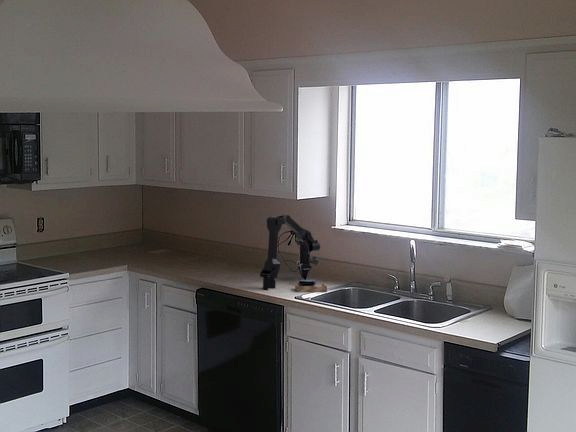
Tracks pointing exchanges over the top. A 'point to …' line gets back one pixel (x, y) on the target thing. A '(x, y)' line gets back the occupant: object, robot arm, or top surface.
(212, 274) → the top surface
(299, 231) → the robot arm
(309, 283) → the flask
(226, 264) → the top surface
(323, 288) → the frame
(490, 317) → the top surface
